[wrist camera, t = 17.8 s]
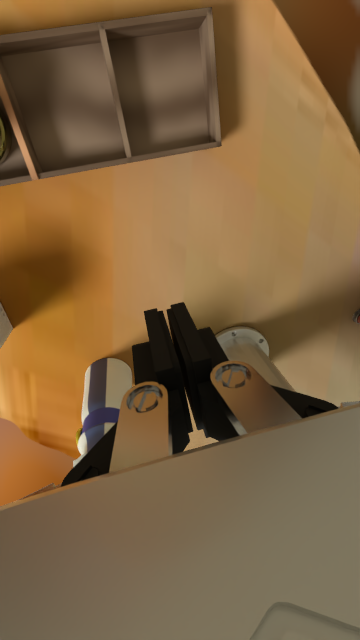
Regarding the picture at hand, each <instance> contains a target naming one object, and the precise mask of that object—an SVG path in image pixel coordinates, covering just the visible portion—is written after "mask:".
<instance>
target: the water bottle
mask: <svg viewBox="0 0 360 640" xmlns="http://www.w3.org/2000/svg"><path fill="white" fill-rule="evenodd" d="M131 388H132V371H131V369H130V367H129V366H128V365H127V364H126V363H125V362H123V361H121V360H119V359H115V358H104V359H100V360H98V361H96V362H94V363H92V364H91V365H90V366H89V367H88V369H87V371H86V374H85V387H84V398H83V406H82V424H83V428H80V429H78V431H77V433H76V442H77V446H78V449H79V452H80V453H81V456H80V457H79V458H78V459H77V460H75V461H73V463H74V466H75V465H76V464H77V463H78V462H79V461H80V460H81V459H82V458H83V457H84V456H85V455H86V454H87V453H88V452H89V451H90V450H91V449H92V447H93V446H94V445H95V444H96V443H97V442H98V441H99V440H100V439H101V438H102V437H103V436H104V435H105V434H106V433H107V432H108V431H109V430H110V429H111V427H112V426H113V425H114V424H115V423H116V422H117V421H118V418H119V413H120V407H121V401H122V399H123V396H124V395H125V393H126V392H127V391H128V390H129V389H131ZM74 466H73V467H74Z"/></svg>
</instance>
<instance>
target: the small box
mask: <svg viewBox="0 0 360 640" xmlns="http://www.w3.org/2000/svg"><path fill="white" fill-rule="evenodd" d="M12 330H13V327H12V325H11V323H10V321H9V319H8V317H7V315H6V313H5V311H4V309H3V307H2V305H1V303H0V348H1V347H2V345H3V344H4V342H5V341H6V339H7V338H8V336H9V335H10V333H11V331H12Z"/></svg>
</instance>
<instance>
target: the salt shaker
mask: <svg viewBox="0 0 360 640" xmlns="http://www.w3.org/2000/svg"><path fill="white" fill-rule="evenodd" d="M11 146H12V133H11V129H10V125H9V122H8V120H7V118H6V116H5V114H4V113H3V111H2V110H1V108H0V164H2V163H3V162H4V161H5V160H6V158H7V157H8V155H9V153H10V150H11Z"/></svg>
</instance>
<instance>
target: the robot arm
mask: <svg viewBox="0 0 360 640" xmlns="http://www.w3.org/2000/svg"><path fill="white" fill-rule="evenodd" d="M144 315H145V320H146V325H147V331H148V336H149V342H145V343H141V344H137V345H133V346H132V353H133V365H134V376H135V386H133V387H132V388H131V389H129V390H128V391H127V392H126V393H125V395H124V396H123V399H122V401H121V407H120V413H119V418H118V421H117V422H116V423H115V424H114V425H113V426H112V427H111V429H110V430H109V431H108V432H107V433H106V434H105V435H104V436H103V437H102V438H101V439H100V440H99V441H98V442H97V443H96V444H95V445H94V446H93V447H92V449H91V450H90V451H89V452H88V453H87V454H86V455H85V456H84V457H83V458H82V459H81V460H80V461H79V462H78V463H77V464H76V465H75V466H74V467H73V469H72V470H71V471H70V472H69V473H68V475H67V476H66V477H65V478H64V480H63V482H62V483H61V484H60V485H58V486H55V485H54V483H52V484H50V485H48V486H46V487H44V488H42V489H40V490H38V491H36V492H34V493H32V494H30V495H28V496H26V497H24V498H22V499H20V500H18V501H15V502H12V503H9V504H6V505H4V506H0V640H360V401H358V402H344V403H341V406H340V407H337V406H335V405H334V404H332V403H329V402H327V401H324V400H321V399H317V398H314V397H311V396H307V395H304V394H301V393H297V392H296V391H295V390H294V389H293V388H292V386H291V385H290V384H289V383H288V381H287V380H286V379H285V377H284V376H283V375H282V374H281V372H280V371H279V370H278V369H277V367H276V366H275V365H274V364H273V362H272V361H271V360H270V359H269V345H268V343H267V341H266V339H265V338H264V336H263V335H262V334H261V333H260V332H258V331H257V330H255V329H253V328H250V327H244V326H241V327H232V328H229V329H226V330H223V331H222V332H220V333H218V334H217V335H214V333H213V332H212V330H211V328H210V327H207V328H203V329H199V330H197V328H196V326H195V324H194V322H193V320H192V318H191V316H190V314H189V312H188V310H187V308H186V306H185V304H184V302H182V303H178V304H173V305H171V309H167V315H168V320H169V325H170V330H171V335H172V339H171V336H170V332H169V329H168V326H167V323H166V320H165V317H164V314H163V311H157V308H156V309H152V310H147V311H144ZM172 340H173V342H172ZM184 387H185V388H184ZM185 391H186V393H185ZM186 394H187V397H188V400H189V404H190V407H191V410H192V414H193V417H194V420H195V423H196V427H197V430H201V429H203V430H204V433H205V436H206V438H208V437H212V438H214V439H216V440H218V441H219V442H216V443H212V444H209V445H205V446H202V447H198V448H195V449H191V450H188V451H184V449H185V448H186V446H187V445H188V443H189V442H190V439H189V435H188V433H190V432H193V428H192V423H191V418H190V413H189V408H188V403H187V398H186ZM183 451H184V452H183Z"/></svg>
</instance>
